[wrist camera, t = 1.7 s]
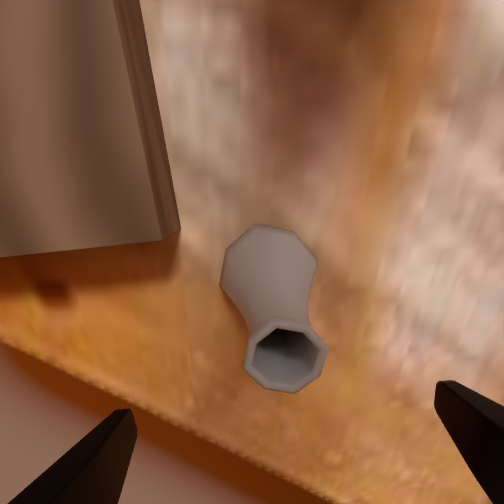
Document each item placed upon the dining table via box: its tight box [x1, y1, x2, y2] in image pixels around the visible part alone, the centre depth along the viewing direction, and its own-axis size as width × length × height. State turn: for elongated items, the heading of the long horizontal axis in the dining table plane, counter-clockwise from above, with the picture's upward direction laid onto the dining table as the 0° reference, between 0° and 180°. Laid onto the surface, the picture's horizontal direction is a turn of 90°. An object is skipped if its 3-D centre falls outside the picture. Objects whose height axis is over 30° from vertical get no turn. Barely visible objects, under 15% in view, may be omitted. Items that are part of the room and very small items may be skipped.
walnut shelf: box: [0, 0, 181, 257], centre depth 15 cm, size 16×14×4 cm
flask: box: [219, 224, 329, 394], centre depth 14 cm, size 7×7×10 cm
